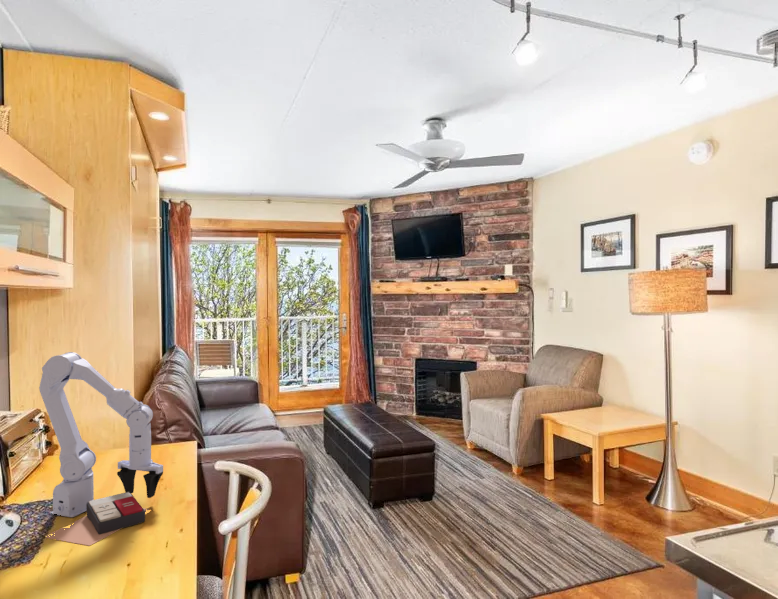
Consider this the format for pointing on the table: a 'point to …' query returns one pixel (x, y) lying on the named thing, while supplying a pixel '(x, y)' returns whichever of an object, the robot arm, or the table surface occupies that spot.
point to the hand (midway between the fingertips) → (140, 495)
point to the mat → (80, 533)
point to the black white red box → (115, 512)
